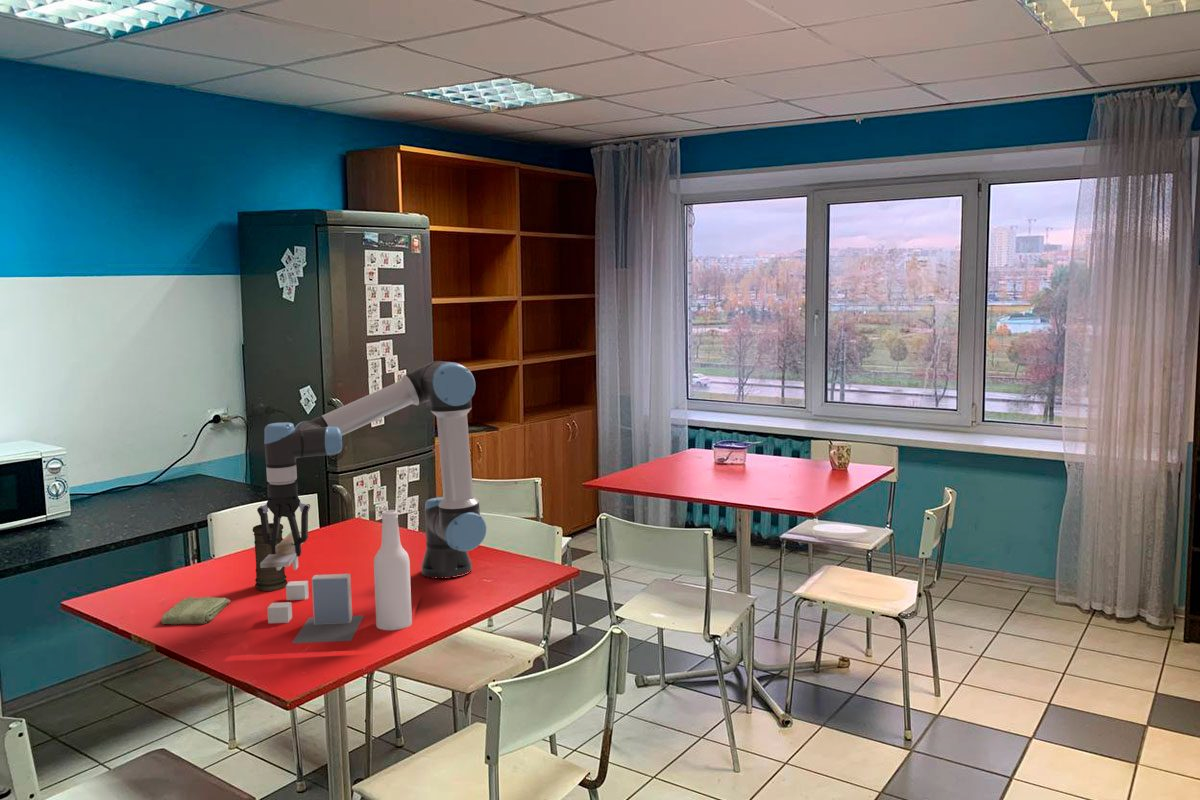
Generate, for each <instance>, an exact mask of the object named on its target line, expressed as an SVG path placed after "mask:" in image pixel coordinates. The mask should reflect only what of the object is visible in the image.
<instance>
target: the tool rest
mask: <svg viewBox="0 0 1200 800" xmlns="http://www.w3.org/2000/svg"><path fill="white" fill-rule="evenodd" d="M285 591H286V592H285V593H286V597H285V598H286V601H287V602H271V603H270V604H269V605H268V607H267V623H268V624H283V623H284V624H288V623H289V622H290V621H291V620H292V619H293V606H292V602H291V601H295V600H296V601H298V600H299V601H300V600H301V601H302V600H308V598H310V597H309V596H310V595H309V580H298V581H297V580H296V581H295V580H294V581H288V582H287V585H286V586H285ZM289 601H290V602H289Z"/></svg>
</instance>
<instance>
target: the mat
mask: <svg viewBox="0 0 1200 800" xmlns="http://www.w3.org/2000/svg"><path fill="white" fill-rule="evenodd" d="M364 616H365V615H352V621H351V623H342V624H318V625H314V617H308V618H307V620H306V622H304V624H303V626H302V627H301V629H300V630H299V632H298V633H297V634H296V636H295V638H294V639H293V641H292V642H291V644H305V643H306V644H310V643H332V642H333V643H334V642H351V641H352V640H353V638H354V636H355V634H356V632H357V630H358V628H359V626H360V624H361V622H362V621H363V618H364Z"/></svg>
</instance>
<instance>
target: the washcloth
mask: <svg viewBox="0 0 1200 800" xmlns="http://www.w3.org/2000/svg"><path fill="white" fill-rule="evenodd" d="M230 603H231V600H230V599H229V598H227V597H214V596H204V597H203V596H202V597H193V596H189V597H186V598H184V599H182V600H180V601H179V602H178V603H176V604H174V605H173V606H172V607H171V608H170V609H168V610H167V611H166V612H165V613H164V614H163V615H162V617H161V619H160V622H161V624H162V625H164V624H171V625H177V624H178V625H179V624H180V625H204V624H205V623H206V624H208V623H209V622H212V621H213V620H214V619H215V617H216V616H217V615H218V614H219V613H220V612H221V611H223V609H224V608H225V607H227V606H228V604H230ZM207 622H208V623H207ZM206 624H205V625H206Z"/></svg>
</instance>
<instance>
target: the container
mask: <svg viewBox="0 0 1200 800" xmlns="http://www.w3.org/2000/svg"><path fill="white" fill-rule="evenodd" d="M272 529H273V522H272V523H271V522H269V530H270V538H271V537H272ZM283 529H284V525H283V524H282V523H280V528H279V536H278V543H277V544H279V543H280V542H281V541H282V540H283V539H284V538H283ZM252 533H253V536H254V553H255V574H256V575H255V577H256V578H255V580H254V581H255V584H254V587H255V589H256V590H258V591H260V590H262V591H261V592H269V591H270V592H272V591H278V590H281V589H283V588H286V585H287V584H288V581H287V575H286V571H285V569H286V567H282V568H281V569H280V570H277V567H268V568H260V563H261V562H262V561H263V560H264V559H265V558H266V557H267V556H268V555H269V554H272V548H271V545H269V544H264V541H263V534H262V526H261V523H260V524H258V525H255V526H253V527H252Z"/></svg>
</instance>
